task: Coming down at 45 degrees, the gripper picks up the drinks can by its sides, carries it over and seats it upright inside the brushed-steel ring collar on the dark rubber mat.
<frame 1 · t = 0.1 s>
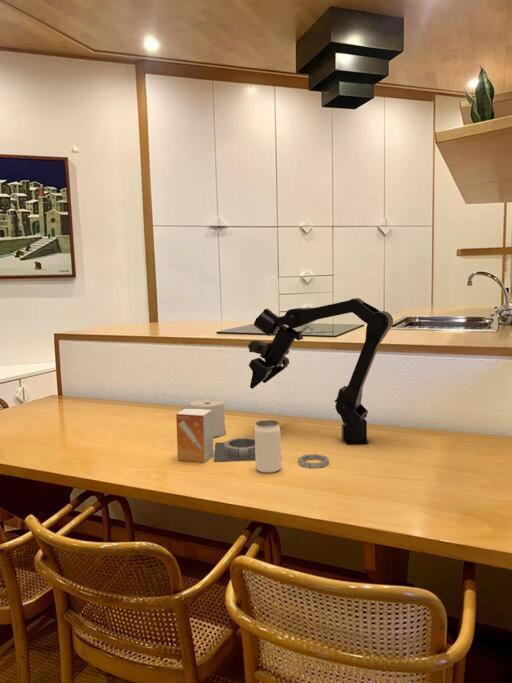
hand: (257, 385, 167), 15 cm above the table, tool tilted 35°, fingers open, 9 cm apart
toilet tissue: (206, 434, 167), on the table
small box: (196, 458, 144), on the table
ring seat: (243, 451, 149), on the table
can: (268, 469, 134), on the table
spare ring: (313, 462, 137), on the table
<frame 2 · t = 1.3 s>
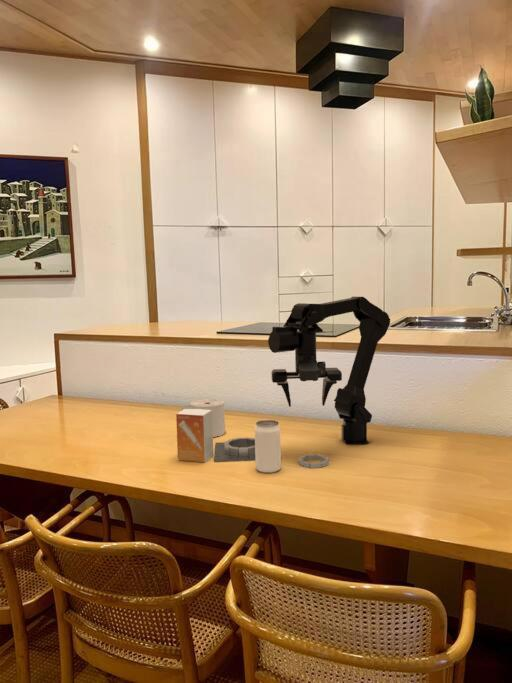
hand: (306, 405, 145), 13 cm above the table, tool pointing down, fingers open, 9 cm apart
nothing on the table moved.
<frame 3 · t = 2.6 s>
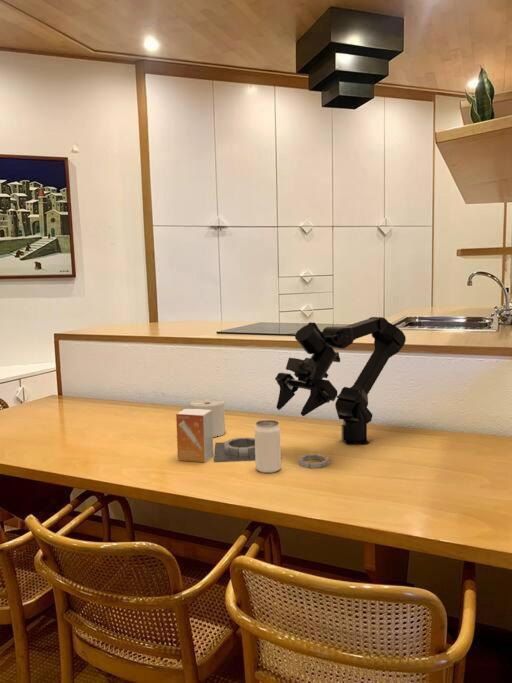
hand: (289, 411, 137), 13 cm above the table, tool tilted 45°, fingers open, 9 cm apart
nothing on the table moved.
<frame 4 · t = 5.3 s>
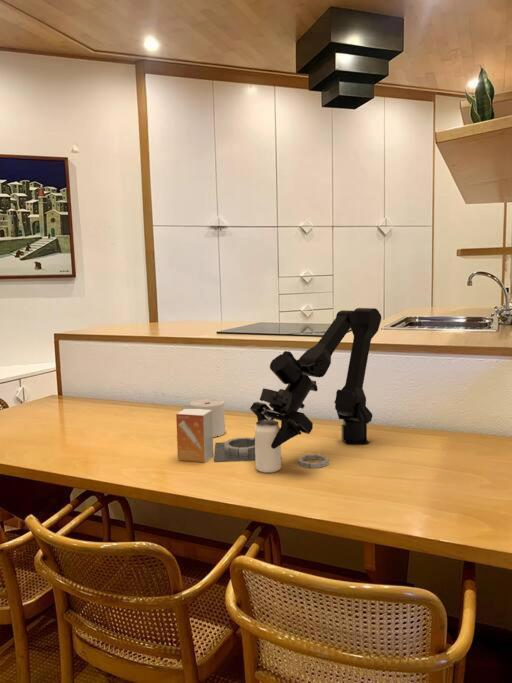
hand: (263, 444, 132), 7 cm above the table, tool tilted 45°, fingers closed on can, 6 cm apart
can: (268, 469, 134), on the table, touching gripper
everything else where it was.
when the fingers open (8 cm above the table, at t = 9.0 s): can stays where it is, resting on ring seat.
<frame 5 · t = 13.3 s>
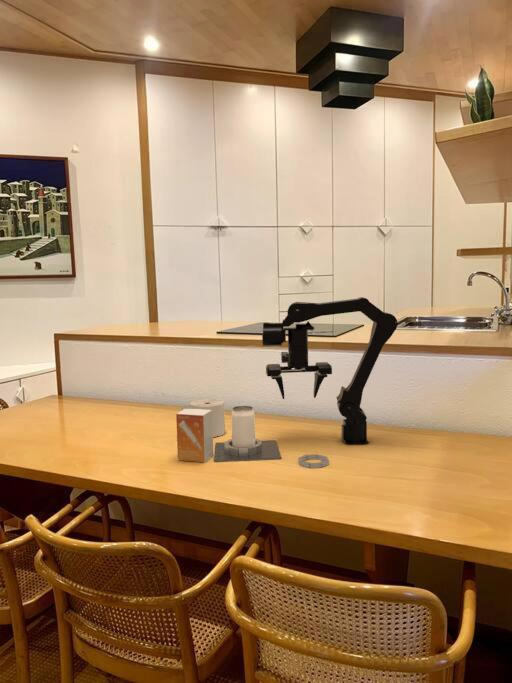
hand: (299, 398, 155), 13 cm above the table, tool pointing down, fingers open, 9 cm apart
can: (244, 450, 149), resting on ring seat
everything else where it was.
at the end: can 0.2 cm off-centre on the ring seat, point 0.2 cm above the ring seat's base; can tilted 0°; the gripper is holding nothing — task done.
